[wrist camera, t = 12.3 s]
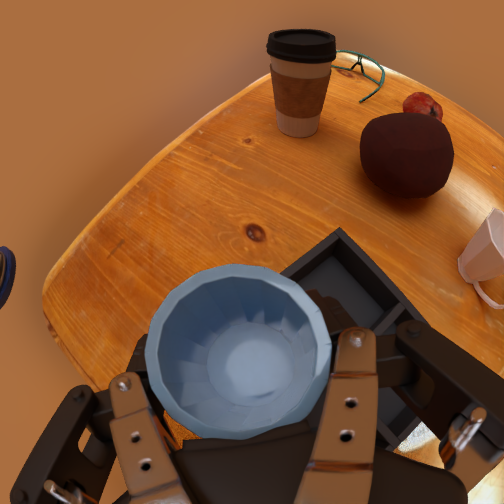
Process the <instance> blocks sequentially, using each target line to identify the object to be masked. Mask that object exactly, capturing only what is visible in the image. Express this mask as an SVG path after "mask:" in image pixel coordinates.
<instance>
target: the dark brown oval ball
mask: <svg viewBox="0 0 504 504" xmlns="http://www.w3.org/2000/svg"><path fill="white" fill-rule="evenodd" d="M360 158H361V164H362V167H363V169H364V171H365V173H366V175H367V177H368V178H369V179H370V180H371V181H372V182H373V183H374V184H375V185H377V186H378V187H380V188H381V189H383V190H384V191H386V192H388V193H390V194H393V195H396V196H400V197H403V198H427V197H429V196H431V195H432V194H434V193H436V192H437V191H438V190H440V189H441V188H443V187H444V185H445V183H446V182H447V180H448V177H449V174H450V171H451V169H452V166H453V159H454V150H453V145H452V141H451V137H450V134H449V132H448V130H447V128H446V127H445V125H444V124H443V123H442V122H440V121H439V120H438V119H436V118H434V117H431V116H428V115H425V114H421V113H393V114H388V115H383V116H380V117H377V118H375V119H372V120H371V121H370V122H369V123H368V124H367V125H366V127H365V128H364V129H363V131H362V135H361V140H360Z"/></svg>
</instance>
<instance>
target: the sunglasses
mask: <svg viewBox="0 0 504 504" xmlns="http://www.w3.org/2000/svg"><path fill="white" fill-rule="evenodd" d="M337 52H347V53H353V54H357V55H358V62H356V63H355V64H354V65H353V66H352V67H351V69H349V68H344V67H339V66H334V65H331V67H336V68H341V69H346V70H352V69H354V67H355V66H356V65H357V64H358V65H361V72H362V73H363V75H364V76H366V77H368V78H369V79H371V80H373V81H374V82H376V83H378V84H380V86H379V87H378V88H377V89H376V90H375V91H373V92H372V93H371V94H369V95H368V96H366V97H365V98H363V99H362V100H360V101H359V102H360V103H361V102H363V101H365V100H366V99H368V98H369V97H371V96H372V95H374V94H375V93H376V92H377V91H378V90H379V89H380V88H381V86H382V85H383V83H384V79H385V72H384V69H383V68H382V67H381V66H380V65H379V64H378V62H376V61H375V60H373V59H372V58H370V57H368V56H366V55H364V54H361V53H357V52H354V51H348V50H340V51H337ZM360 57H361V58H360ZM362 57H365V58H367V59H370V60H372V61H373V62H374V63H375V64H376V65H377V66H378V67H379V68H380V69H381V70H382V77H381V80H380V82H378V81H376V80H374V79H372V78H371V77H369V76H367V75H366V74H365V73H364V69H363V65H362V63H361V59H362ZM359 59H360V62H359Z"/></svg>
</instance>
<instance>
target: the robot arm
mask: <svg viewBox="0 0 504 504" xmlns="http://www.w3.org/2000/svg"><path fill="white" fill-rule="evenodd" d="M6 271H7V259H6V256H5V254H4V253H2V252H1V251H0V291H1V289H2V286H3V284H4V280H5V277H6ZM305 292H306V293H307V295H308V296H309V297H310V298H311V299H312V300H313V301H314V302H315V304H316V305H317V306H318V307H319V308H320V310H321V312H322V315H323V318H324V321H325V324H326V327H327V330H328V333H329V336H330V339H331V342H332V353H331V364H330V374H329V382H328V387H327V392H326V397H325V402H324V406H323V411H322V415H321V419H320V423H319V427H310V426H309V423H308V420H304V421H300V422H296V423H292V424H288V425H284V426H279V427H276V428H273V429H271V430H269V431H266V432H264V433H261V434H259V435H256V436H254V437H251V438H249V439H245V440H235V439H222V438H203V439H191V440H183V447H182V449H181V448H180V446H179V444H178V442H177V440H176V438H175V436H174V434H173V432H172V430H171V428H170V426H169V424H168V422H167V420H166V419H165V417H164V416H163V415H164V410H165V409H164V407H163V406H162V404H161V403H160V401H159V400H158V398H157V396H156V395H155V393H154V392H153V390H152V389H151V386H150V382H149V377H148V372H147V366H146V360H145V346H146V341H147V337H148V334H144V335H143V336H142V337H141V338H140V339H139V340H138V342H137V345H136V347H135V349H134V352H133V355H132V357H131V359H130V362H129V364H128V367H127V369H126V372H124V373H121V374H119V375H117V376H116V377H114V378H113V379H112V380H111V382H110V384H109V389H107V390H104V391H100V392H97V393H94V392H93V390H92V389H91V387H90V386H88V385H79V386H76V387H74V388H73V389H71V390H70V391H69V392H68V394H67V395H66V397H65V398H64V400H63V401H62V403H61V404H60V406H59V407H58V409H57V411H56V412H55V414H54V415H53V417H52V418H51V420H50V422H49V423H48V425H47V427H46V428H45V430H44V431H43V433H42V435H41V436H40V438H39V440H38V441H37V443H36V445H35V446H34V448H33V450H32V452H31V453H30V455H29V457H28V459H27V461H26V463H25V464H24V467H23V468H22V470H21V472H20V474H19V476H18V478H17V480H16V482H15V483H14V486H13V488H12V490H11V492H10V502H11V504H99V501H100V498H101V495H102V493H103V490H104V487H105V484H106V482H107V479H108V476H109V474H110V471H111V469H112V466H113V463H114V461H115V458H116V456H118V460H119V463H120V467H121V470H122V473H123V476H124V479H125V482H126V485H127V488H128V490H127V491H126V492H125V493H124V494H123V495H121V496H120V497H119V498H118V499H117V500H116V501H115V502H114V503H112V504H468V495H467V493H468V492H469V491H470V490H471V489H473V488H474V487H475V486H476V485H477V484H478V483H479V482H480V481H481V480H482V479H483V478H484V477H485V475H486V474H488V473H489V472H490V471H491V470H493V469H494V468H495V467H496V466H497V465H498V464H499V463H500V462H501V461H502V460H503V459H504V379H503V378H501V377H500V376H499V375H497V374H496V373H495V372H493V371H492V370H491V369H489V368H488V367H487V366H485V365H484V364H483V363H481V362H480V361H479V360H477V359H476V358H474V357H473V356H472V355H470V354H469V353H468V352H466V351H465V350H463V349H462V348H461V347H459V346H458V345H456V344H455V343H454V342H452V341H451V340H449V339H448V338H446V337H445V336H444V335H442V334H441V333H439V332H438V331H436V330H435V329H433V328H432V327H431V326H429V325H428V324H426V323H424V322H422V321H419V320H408V321H404V322H402V323H401V324H399V325H398V327H397V329H396V334H390V335H381V336H376V335H375V333H374V332H373V331H372V330H370V329H368V328H366V327H359V326H358V325H357V324H356V322H355V321H354V320H353V319H352V317H351V316H350V315H349V314H348V312H346V310H345V309H344V308H343V307H342V305H341V304H340V303H339V301H338V300H337V299H335V298H332V297H330V296H326V297H322V296H321V295H320V294H319V292H318V291H317V290H316V289H311V290H307V291H305ZM426 373H427V374H428V375H427V374H426ZM386 387H390V388H391V389H392V390H393V391H394V392H395V393H396V394H397V395H398V396H399V397H400V398H401V399H402V400H403V401H404V403H405V404H406V405H407V406H408V407H409V408H410V409H411V410H412V411H413V412H414V413H415V414H416V415H417V416H418V417H419V418H420V420H421V421H422V422H423V423H424V424H425V425H426V426H427V427H428V428H429V429H430V430H431V431H432V432H433V433H434V434H435V436H436V437H437V438H438V439H439V440H440V441H441V442H440V444H439V455H440V457H441V459H442V462H443V463H444V469H441V468H437V467H434V466H431V465H427V464H424V463H421V462H418V461H415V460H412V459H410V458H407V457H404V456H401V455H398V454H396V453H393V452H391V451H388V450H386V449H383V448H381V447H378V446H376V445H375V438H376V425H377V408H378V388H386ZM85 428H87V429H88V430H89V431H90V432H91V435H90V438H89V440H88V442H87V444H86V446H85V448H84V450H83V452H82V453H81V452H80V450H79V448H78V441H79V439H80V437H81V435H82V433H83V431H84V429H85Z"/></svg>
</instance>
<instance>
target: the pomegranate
mask: <svg viewBox="0 0 504 504" xmlns="http://www.w3.org/2000/svg"><path fill="white" fill-rule="evenodd" d="M403 112H404V113H421V114H425V115H428V116H431V117H434V118H436V119H438V120H439V121H440V122H442V121H441V120H442V117H443V111H442V107H441V106H440V105H439V104H438V103H437V102H436V101H434V100H433V98H432V97H431V96H430V95H429V94H425V93H424V92H415V93H413V94H412V95H409V96H408V97H407V99H405V101H404V102H403Z"/></svg>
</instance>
